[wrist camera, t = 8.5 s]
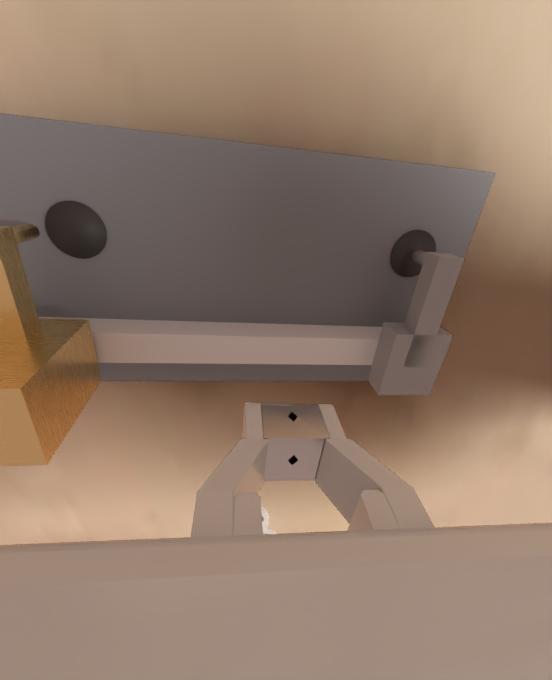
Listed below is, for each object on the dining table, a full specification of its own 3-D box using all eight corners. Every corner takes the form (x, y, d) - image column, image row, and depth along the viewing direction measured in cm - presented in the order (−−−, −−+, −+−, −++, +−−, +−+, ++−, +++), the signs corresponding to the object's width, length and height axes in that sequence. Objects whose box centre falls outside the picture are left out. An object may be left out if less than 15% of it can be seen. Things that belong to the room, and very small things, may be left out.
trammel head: (82, 221, 13) (-28, 254, 7) (109, 367, 16) (47, 464, 11) (-30, 213, 12) (-237, 243, 7) (22, 367, 15) (-90, 469, 10)
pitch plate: (480, 172, 15) (553, 171, 12) (411, 372, 21) (447, 411, 17) (-75, 106, 12) (-205, 77, 8) (17, 370, 17) (-38, 420, 14)
